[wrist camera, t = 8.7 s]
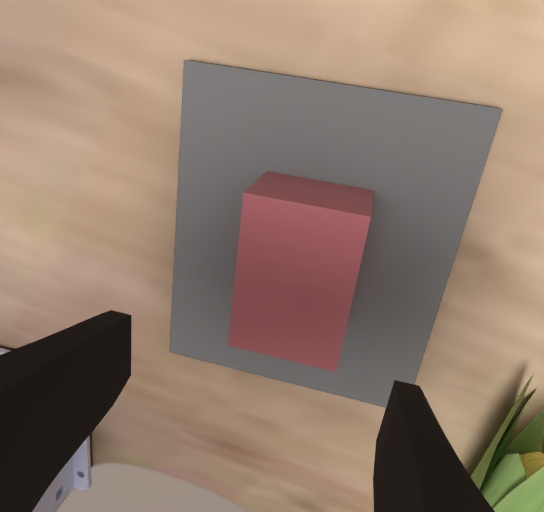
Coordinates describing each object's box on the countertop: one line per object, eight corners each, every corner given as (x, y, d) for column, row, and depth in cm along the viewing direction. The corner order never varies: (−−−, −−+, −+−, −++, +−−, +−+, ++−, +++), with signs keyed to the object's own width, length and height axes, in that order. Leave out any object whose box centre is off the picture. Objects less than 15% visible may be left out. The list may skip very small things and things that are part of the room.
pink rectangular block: (373, 190, 19) (371, 216, 16) (343, 325, 21) (336, 372, 18) (266, 171, 19) (243, 192, 16) (250, 304, 22) (227, 345, 19)
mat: (404, 404, 23) (404, 412, 22) (174, 345, 25) (169, 352, 24) (499, 107, 17) (502, 109, 17) (189, 59, 19) (183, 59, 18)
